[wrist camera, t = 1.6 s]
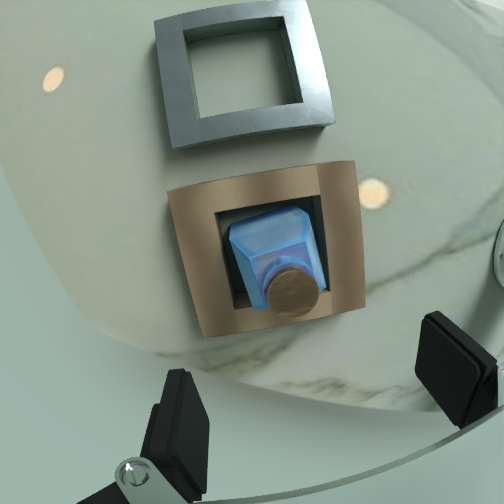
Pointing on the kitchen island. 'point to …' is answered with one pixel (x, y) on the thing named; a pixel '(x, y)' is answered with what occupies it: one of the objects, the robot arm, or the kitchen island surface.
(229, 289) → the tan square frame
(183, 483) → the robot arm
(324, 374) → the kitchen island surface
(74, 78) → the kitchen island surface
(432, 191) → the kitchen island surface
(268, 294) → the perfume bottle
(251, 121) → the block
